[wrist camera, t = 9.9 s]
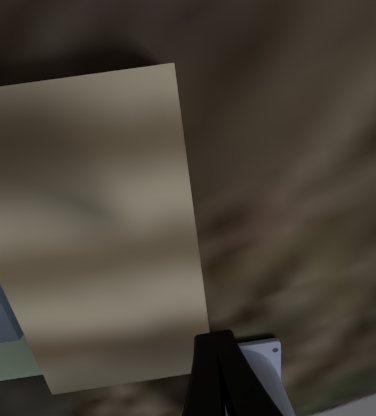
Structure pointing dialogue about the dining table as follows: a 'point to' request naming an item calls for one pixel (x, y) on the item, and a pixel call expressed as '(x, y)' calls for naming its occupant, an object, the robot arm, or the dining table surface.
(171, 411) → the dining table surface
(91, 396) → the dining table surface
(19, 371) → the mat
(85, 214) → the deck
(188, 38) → the dining table surface
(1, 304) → the block
